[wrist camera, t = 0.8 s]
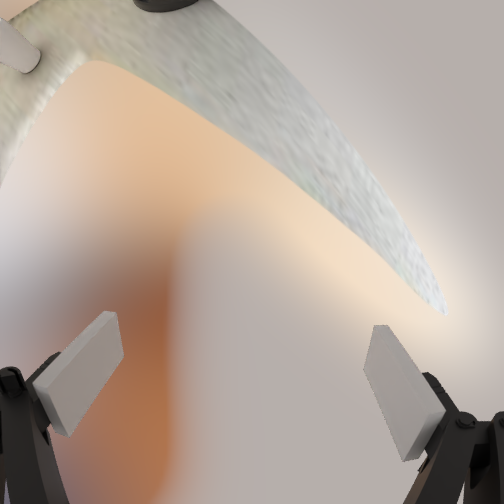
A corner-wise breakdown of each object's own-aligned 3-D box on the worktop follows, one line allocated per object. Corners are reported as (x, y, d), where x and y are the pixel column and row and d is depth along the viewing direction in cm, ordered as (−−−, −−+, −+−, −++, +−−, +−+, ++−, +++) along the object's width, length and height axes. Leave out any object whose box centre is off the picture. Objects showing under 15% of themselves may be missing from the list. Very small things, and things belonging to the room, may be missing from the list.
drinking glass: (29, 81, 37) (-20, 54, 22) (14, 72, 37) (-32, 47, 22) (50, 51, 37) (6, 17, 22) (33, 44, 36) (-8, 14, 21)
